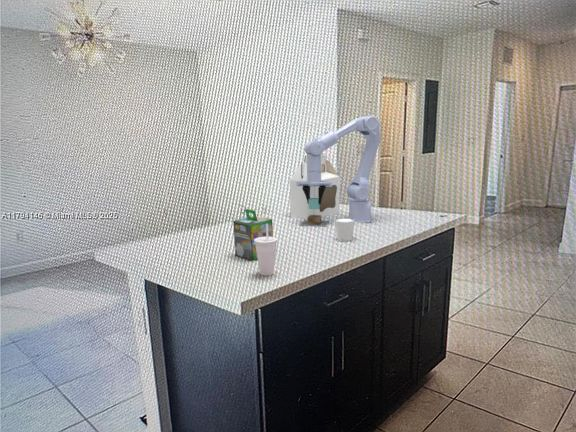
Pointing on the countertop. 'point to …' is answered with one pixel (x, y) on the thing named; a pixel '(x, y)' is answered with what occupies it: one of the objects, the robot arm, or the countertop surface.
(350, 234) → the white cylinder
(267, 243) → the smoothie
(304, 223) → the build mat
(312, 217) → the walnut block
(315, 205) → the teal cube
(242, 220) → the green carry carton
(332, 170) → the gable box
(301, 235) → the countertop surface
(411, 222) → the countertop surface
